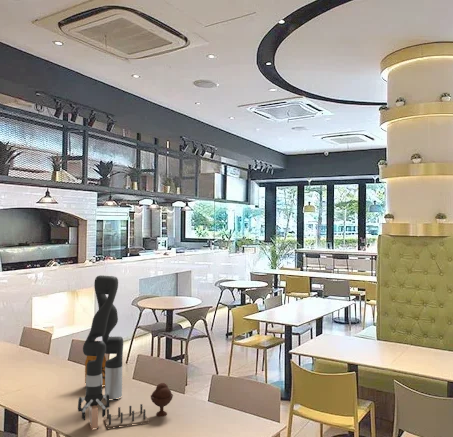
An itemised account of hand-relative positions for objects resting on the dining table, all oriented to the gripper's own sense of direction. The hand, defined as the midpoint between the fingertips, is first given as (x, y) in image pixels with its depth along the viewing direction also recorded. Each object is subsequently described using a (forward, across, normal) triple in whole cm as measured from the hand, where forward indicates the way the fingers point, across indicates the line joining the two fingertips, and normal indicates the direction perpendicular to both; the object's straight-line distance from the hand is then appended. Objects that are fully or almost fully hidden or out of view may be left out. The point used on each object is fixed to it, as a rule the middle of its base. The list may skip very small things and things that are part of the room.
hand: (93, 418), depth 216 cm
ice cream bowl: (+4, -33, -1) cm, 33 cm away
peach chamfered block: (+3, 0, 0) cm, 3 cm away
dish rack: (+3, -15, +1) cm, 15 cm away
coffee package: (+4, -7, -56) cm, 56 cm away
